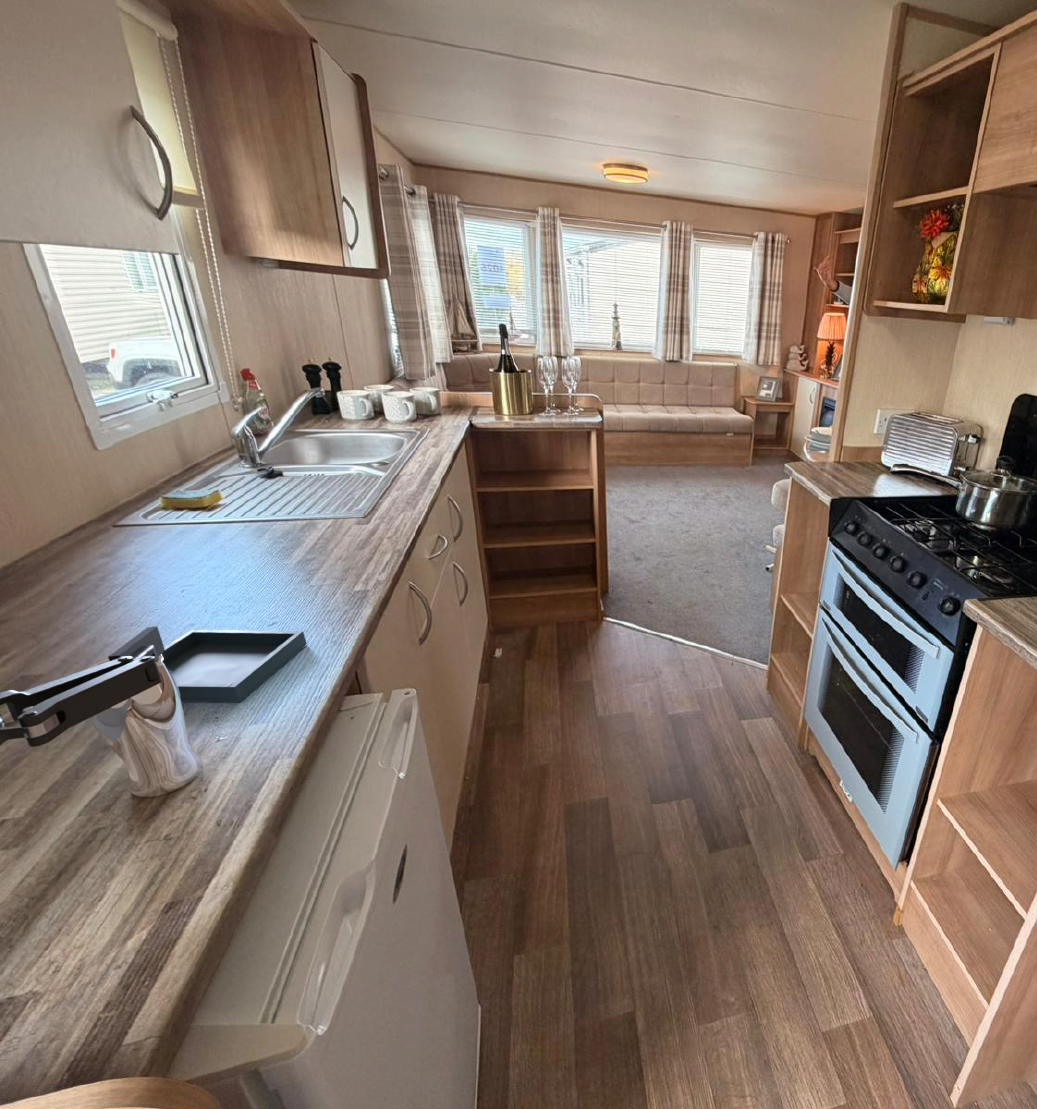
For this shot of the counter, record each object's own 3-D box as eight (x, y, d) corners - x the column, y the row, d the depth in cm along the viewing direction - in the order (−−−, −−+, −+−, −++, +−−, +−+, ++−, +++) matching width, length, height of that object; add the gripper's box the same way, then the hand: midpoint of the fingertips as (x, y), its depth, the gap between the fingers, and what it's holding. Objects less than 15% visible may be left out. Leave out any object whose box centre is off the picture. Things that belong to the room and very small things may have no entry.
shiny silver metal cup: (111, 789, 65) (56, 677, 59) (185, 749, 71) (141, 644, 65) (149, 809, 63) (95, 695, 57) (222, 766, 69) (180, 659, 63)
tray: (110, 701, 79) (102, 685, 78) (197, 643, 92) (191, 629, 91) (240, 702, 80) (234, 687, 79) (307, 645, 93) (303, 631, 92)
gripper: (-442, 901, 34) (-105, 708, 53) (117, 796, 42) (236, 663, 61) (-527, 794, 32) (-142, 633, 50) (83, 706, 40) (217, 597, 59)
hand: (65, 649), depth 56 cm, fingers open, 13 cm apart
